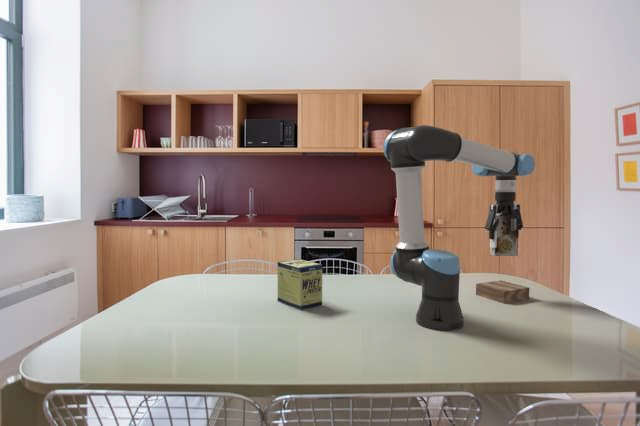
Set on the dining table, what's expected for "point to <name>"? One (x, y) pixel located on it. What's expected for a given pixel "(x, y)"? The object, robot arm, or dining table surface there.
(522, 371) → the dining table surface
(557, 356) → the dining table surface
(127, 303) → the dining table surface
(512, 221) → the coffee box
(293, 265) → the protein box
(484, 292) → the walnut riser block
